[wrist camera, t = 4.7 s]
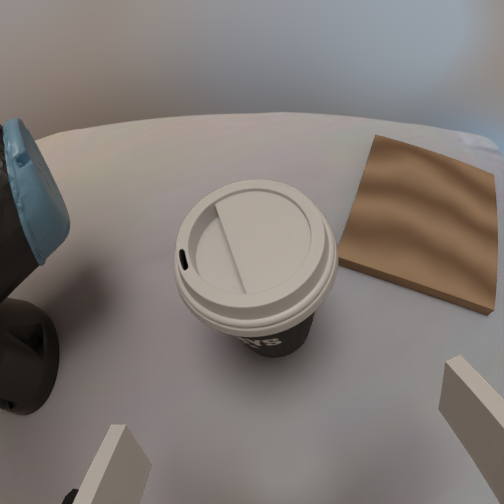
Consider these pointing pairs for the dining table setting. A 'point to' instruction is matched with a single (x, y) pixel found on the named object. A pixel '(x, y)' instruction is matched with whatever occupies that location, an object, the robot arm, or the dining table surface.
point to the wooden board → (425, 225)
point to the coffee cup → (256, 264)
